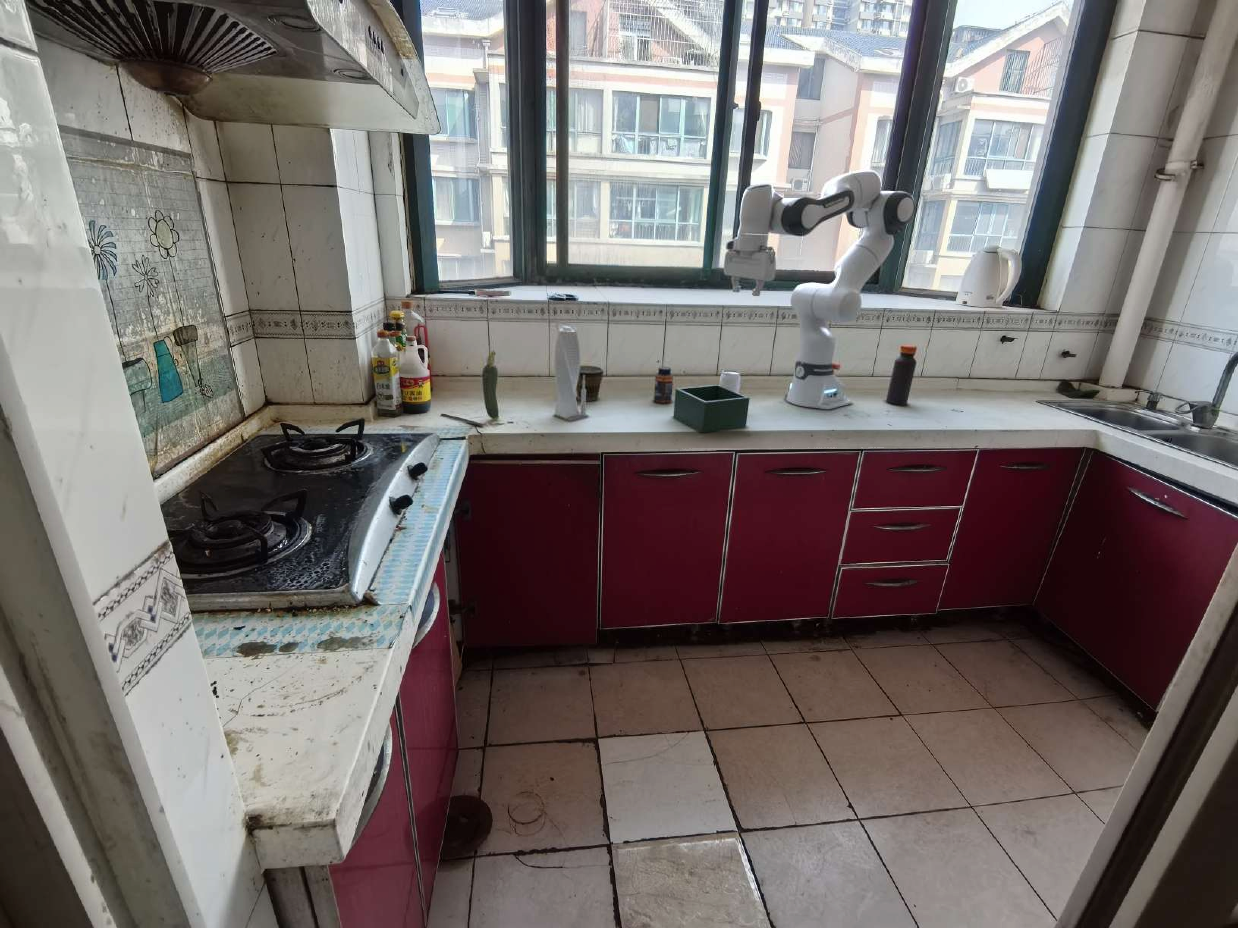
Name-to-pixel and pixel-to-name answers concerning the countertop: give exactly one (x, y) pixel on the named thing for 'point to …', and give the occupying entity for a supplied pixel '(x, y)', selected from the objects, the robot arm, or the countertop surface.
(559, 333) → the skyscraper
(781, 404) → the countertop surface
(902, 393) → the vinegar
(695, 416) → the bin
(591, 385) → the ceramic cup
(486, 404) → the vegetable
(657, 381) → the supplement bottle
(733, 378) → the can
